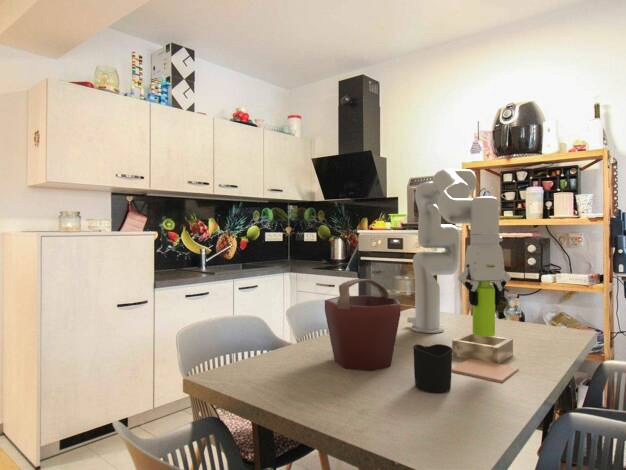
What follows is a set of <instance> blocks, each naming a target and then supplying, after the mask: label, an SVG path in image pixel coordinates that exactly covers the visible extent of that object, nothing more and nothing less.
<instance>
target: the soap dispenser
mask: <svg viewBox="0 0 626 470" xmlns="http://www.w3.org/2000/svg"><path fill="white" fill-rule="evenodd" d="M487 267H495V265H487ZM476 291H477V292H478V305H477V306H474V305H472V333H473V334H475V335H478V336H495V335H496V305H495V288H493V286H491V281H479V282H478V285H477V288H476Z"/></svg>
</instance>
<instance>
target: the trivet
mask: <svg viewBox="0 0 626 470" xmlns="http://www.w3.org/2000/svg"><path fill="white" fill-rule="evenodd" d="M519 370H520V369H519V367H516V366H511V365H508V364H507V365H505V364H501V363H500V364H497V363H491V362H486V361H481V360H476V359H466V360H464V361H462V362H461V363H459V364H457V365H455V366H454V367H452V371H451V373H456V374H461V375H465V376H471V377H474V378H479V379H483V380H489V381H492V382H498V383H504V382H505V381H506V380H508V379H509V378H510V377H512V376H513V375H514V374H516V373H517V372H518V371H519Z"/></svg>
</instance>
